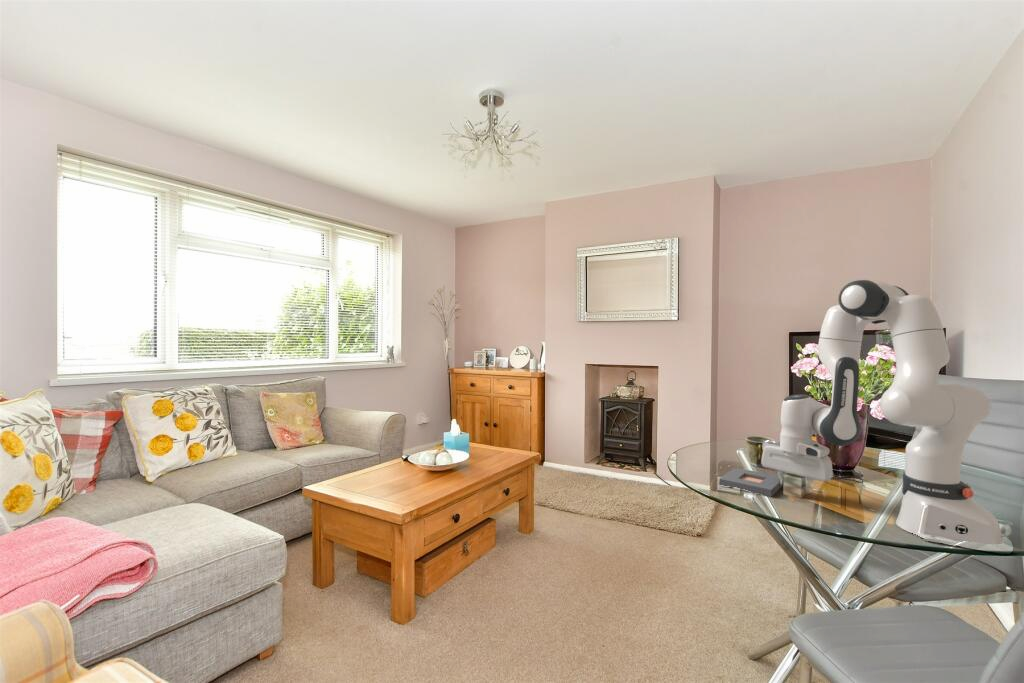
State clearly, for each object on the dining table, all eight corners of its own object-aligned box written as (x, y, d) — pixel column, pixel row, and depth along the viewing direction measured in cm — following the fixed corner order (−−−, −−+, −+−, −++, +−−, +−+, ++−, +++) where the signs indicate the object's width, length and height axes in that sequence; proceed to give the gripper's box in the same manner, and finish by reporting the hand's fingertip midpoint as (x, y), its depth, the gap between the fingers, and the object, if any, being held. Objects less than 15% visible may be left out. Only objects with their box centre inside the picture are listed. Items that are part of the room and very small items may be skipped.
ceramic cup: (745, 459, 191) (745, 435, 191) (773, 463, 187) (774, 437, 187) (745, 469, 180) (745, 443, 179) (775, 472, 175) (776, 445, 175)
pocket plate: (784, 484, 164) (784, 477, 163) (771, 497, 152) (771, 489, 152) (735, 474, 174) (735, 467, 174) (719, 485, 163) (719, 478, 163)
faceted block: (805, 494, 154) (805, 475, 154) (800, 498, 151) (801, 479, 150) (788, 490, 158) (788, 472, 157) (783, 494, 154) (783, 475, 154)
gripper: (758, 440, 160) (757, 480, 161) (827, 453, 144) (826, 498, 144) (767, 437, 164) (766, 476, 164) (835, 450, 148) (834, 494, 148)
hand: (794, 487), depth 154 cm, fingers closed on faceted block, 5 cm apart
